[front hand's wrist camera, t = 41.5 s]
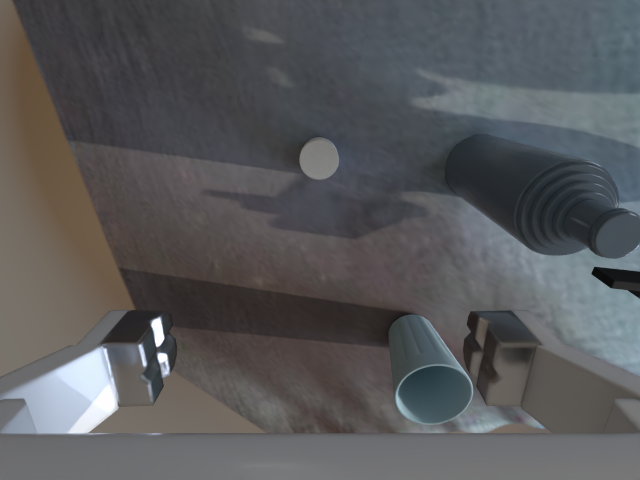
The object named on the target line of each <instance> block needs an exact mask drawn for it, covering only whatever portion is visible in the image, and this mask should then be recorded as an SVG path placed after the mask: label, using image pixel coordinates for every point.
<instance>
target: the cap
mask: <svg viewBox="0 0 640 480" xmlns="http://www.w3.org/2000/svg"><path fill="white" fill-rule="evenodd" d="M299 163H300V167H301V169H302V171H303V172H304V173H305V174H306V175H307V176H308V177H310V178H312V179H317V180H321V179H326V178H328V177H330V176H331V175H332V174H333V173H334V172H335V171H336V169H337V167H338V163H339V157H338V153H337V149H336V147H335V145H334V144H333V143H332V142H331V141H329V140H328V139H326V138H322V137H316V138H312V139H310V140H309V141H307V142H306V143H305V144H304V146H303V147H302V150H301V153H300V157H299Z"/></svg>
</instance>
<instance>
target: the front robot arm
mask: <svg viewBox="0 0 640 480" xmlns="http://www.w3.org/2000/svg"><path fill="white" fill-rule="evenodd" d="M172 326H173V321H172V317H171V314H170V313H169V312H168V311H150V310H112V311H109V312H108V313H107V314H106V315H105V316H104V317H103V318H102V319H101V320H100V321H99V322H98V323H97V324H96V325H95V326H94V327H93V328H92V329H91V330H90V331H89V332H88V333H87V334H86V335H85V336H84V337H83V338H82V339H81V340H80V341H79V342H78V343H77V345H75V346H67V347H65V348H63V349H61V350H58V351H56V352H54V353H52V354H50V355H47V356H45V357H43V358H41V359H39V360H36V361H34V362H32V363H30V364H28V365H25V366H23V367H21V368H19V369H17V370H14V371H12V372H10V373H8V374H6V375H3V376H1V377H0V480H640V377H639V376H636V375H634V374H632V373H630V372H628V371H625V370H623V369H621V368H619V367H617V366H614V365H612V364H610V363H608V362H606V361H604V360H601V359H599V358H597V357H595V356H593V355H590V354H588V353H586V352H584V351H582V350H579V349H577V348H575V347H573V346H565V345H564V344H563V343H562V342H561V341H560V340H559V339H558V338H557V337H556V336H555V335H554V334H553V333H552V332H551V331H550V330H549V329H548V328H547V327H546V326H545V325H544V324H543V323H542V322H541V321H540V320H539V319H538V318H537V317H536V316H535V315H534V314H533V313H532V312H531V311H529V310H508V311H471V312H470V314H469V316H468V321H467V326H468V328H469V329H470V331H471V333H470V334H469V335H468V336H467V337H466V338H465V339H464V346H463V354H464V361H465V364H466V367H467V369H468V371H469V373H470V374H471V375H472V376H474V377H475V378H477V385H476V387H477V388H478V390H479V392H480V394H481V396H482V398H483V399H484V401H485V403H486V405H487V406H515V407H521V408H522V409H523V410H524V411H525V412H527V413H528V414H529V415H530V416H532V417H533V418H534V419H535V420H537V421H538V422H539V423H540V424H542V425H543V426H544V427H545V428H547V429H548V430H549V431H550V432H552V433H88V432H90V431H91V430H92V429H93V428H95V427H96V426H97V425H98V424H100V423H101V422H102V421H103V420H105V419H106V418H107V417H109V416H110V415H111V414H112V413H114V412H115V411H116V410H117V409H118V408H119V407H125V406H153V405H154V403H155V401H156V399H157V398H158V396H159V394H160V392H161V390H162V388H163V386H164V385H163V380H162V379H163V378H165V377H166V376H168V375H169V374H170V373H171V371H172V369H173V367H174V365H175V360H176V356H177V345H176V339H175V338H174V337H173V336H172V335H171V334H170V333H169V331H170V329H171V328H172Z"/></svg>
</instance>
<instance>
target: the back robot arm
mask: <svg viewBox="0 0 640 480" xmlns="http://www.w3.org/2000/svg"><path fill="white" fill-rule="evenodd" d="M592 275H593V276H595V277H596V278H598V279H599V280H600V281H602V282H603V283H605V284H606V285H607V286H609V287H610V288H614V289H623V290H628V291H629V292H631V293H632V294H634V295H635V296H637V297H638V298H640V272H638V271H628V270H619V269H610V268H600V267H594V269H593V271H592Z"/></svg>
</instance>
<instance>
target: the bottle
mask: <svg viewBox="0 0 640 480" xmlns="http://www.w3.org/2000/svg"><path fill="white" fill-rule="evenodd" d="M445 175H446V180H447V183H448V185H449V187H450V188H451V189H452V190H453V191H454V192H455V193H456V194H457V195H459V196H460V197H461V198H463V199H464V200H465V201H467V202H468V203H469V204H471V205H472V206H473V207H475V208H476V209H477V210H479V211H480V212H481V213H482V214H484V215H485V216H486V217H488V218H489V219H490V220H492V221H493V222H494V223H496V224H497V225H498V226H500V227H501V228H502V229H504V230H505V231H506V232H508V233H509V234H510V235H512V236H513V237H514V238H516V239H517V240H518V241H520V242H521V243H522V244H524V245H525V246H526V247H528V248H529V249H531V250H533V251H535V252H537V253H540V254H545V255H568V254H573V253H576V252H579V251H581V250H584V249H585V248H589V249H590V250H591V251H592V252H593V253H594V254H596V255H599V256H601V257H606V258H621V257H624V256H626V255H628V254H630V253H631V252H633V251H634V250H635V249H636V248H637V247H638V246H639V245H640V216H638V215H637V214H636V213H634V212H632V211H629V210H626V209H623V208H618V203H619V196H618V190H617V187H616V185H615V183H614V181H613V179H612V178H611V176H610V175H609V173H608V172H607V171H606V170H605V169H604V168H602V167H601V166H600V165H598V164H596V163H594V162H591V161H588V160H584V159H580V158H576V157H572V156H568V155H564V154H561V153H557V152H553V151H549V150H545V149H541V148H537V147H533V146H530V145H526V144H522V143H518V142H514V141H510V140H506V139H503V138H499V137H495V136H491V135H484V134H481V135H475V136H471V137H469V138H467V139H465V140H463V141H462V142H460V143H459V144H458V145H457V146H456V147H455V148H454V149H453V151H452V152H451V154H450V155H449V157H448V160H447V163H446V168H445Z"/></svg>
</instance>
